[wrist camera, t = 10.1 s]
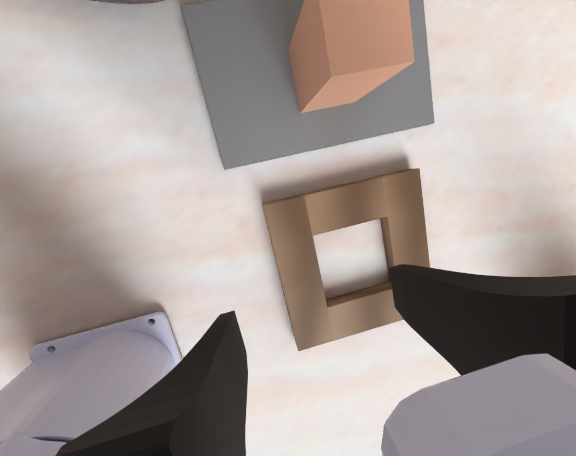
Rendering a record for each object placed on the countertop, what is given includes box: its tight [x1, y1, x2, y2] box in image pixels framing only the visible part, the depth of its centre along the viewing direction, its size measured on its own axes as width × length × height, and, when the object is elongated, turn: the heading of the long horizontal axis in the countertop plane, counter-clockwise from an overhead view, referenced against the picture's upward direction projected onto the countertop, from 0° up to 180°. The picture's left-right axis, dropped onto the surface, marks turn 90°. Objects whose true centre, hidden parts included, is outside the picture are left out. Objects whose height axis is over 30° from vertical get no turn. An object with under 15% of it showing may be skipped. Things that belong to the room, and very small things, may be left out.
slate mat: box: [181, 0, 434, 170], centre depth 18 cm, size 16×10×1 cm, turn 102°
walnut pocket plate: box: [262, 169, 430, 351], centre depth 21 cm, size 12×12×1 cm
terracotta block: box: [288, 0, 415, 113], centre depth 15 cm, size 4×4×7 cm
